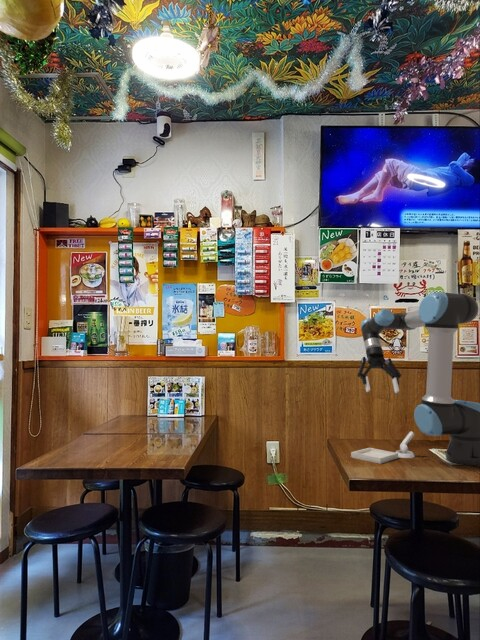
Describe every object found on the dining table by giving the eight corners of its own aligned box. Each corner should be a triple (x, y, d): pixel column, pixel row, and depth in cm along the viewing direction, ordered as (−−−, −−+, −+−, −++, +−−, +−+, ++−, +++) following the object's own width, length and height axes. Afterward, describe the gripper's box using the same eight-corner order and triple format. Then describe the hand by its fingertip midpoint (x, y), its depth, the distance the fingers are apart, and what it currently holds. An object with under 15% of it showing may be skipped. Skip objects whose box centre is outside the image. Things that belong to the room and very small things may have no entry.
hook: (429, 445, 175) (417, 435, 174) (411, 468, 175) (398, 459, 174) (419, 437, 182) (407, 428, 181) (402, 460, 183) (390, 451, 181)
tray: (398, 458, 174) (398, 453, 174) (380, 463, 166) (380, 458, 166) (369, 452, 184) (369, 447, 184) (351, 457, 175) (351, 452, 175)
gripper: (395, 354, 211) (405, 395, 200) (345, 352, 208) (353, 393, 197) (402, 347, 205) (413, 389, 194) (351, 344, 202) (359, 387, 190)
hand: (382, 391), depth 195 cm, fingers open, 13 cm apart
